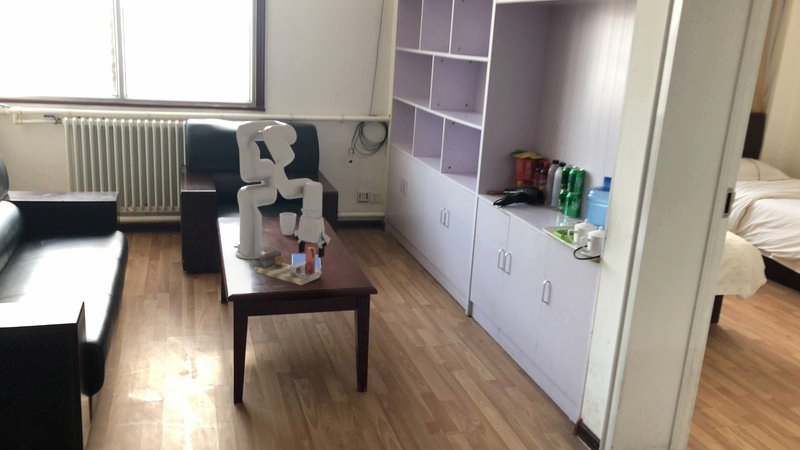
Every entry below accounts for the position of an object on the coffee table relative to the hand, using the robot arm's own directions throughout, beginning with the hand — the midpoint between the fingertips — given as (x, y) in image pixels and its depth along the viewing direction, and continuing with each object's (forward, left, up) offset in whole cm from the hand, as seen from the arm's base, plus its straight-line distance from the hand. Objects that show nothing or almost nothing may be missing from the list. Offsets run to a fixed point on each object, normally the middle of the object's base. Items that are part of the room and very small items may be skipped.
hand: (311, 254), depth 272 cm
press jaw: (-2, 0, -9) cm, 9 cm away
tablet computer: (-16, +18, -12) cm, 27 cm away
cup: (-49, +46, -12) cm, 68 cm away
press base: (-11, 0, -11) cm, 16 cm away
